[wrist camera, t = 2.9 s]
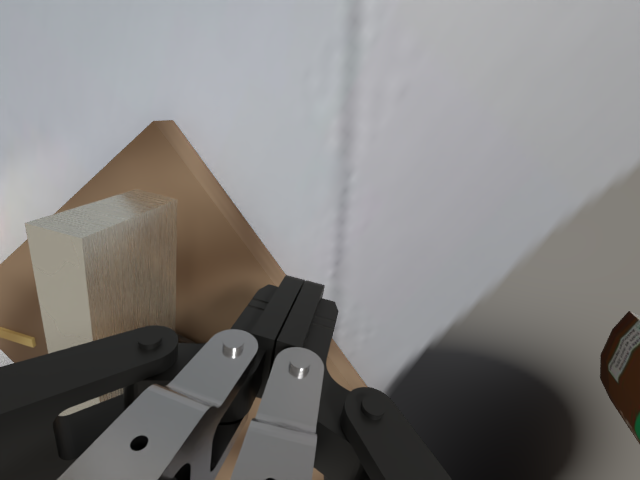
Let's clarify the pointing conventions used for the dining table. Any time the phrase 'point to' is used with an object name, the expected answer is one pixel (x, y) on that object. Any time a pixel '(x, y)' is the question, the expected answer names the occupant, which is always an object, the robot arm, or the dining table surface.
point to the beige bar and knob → (105, 270)
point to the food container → (624, 370)
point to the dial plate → (191, 264)
